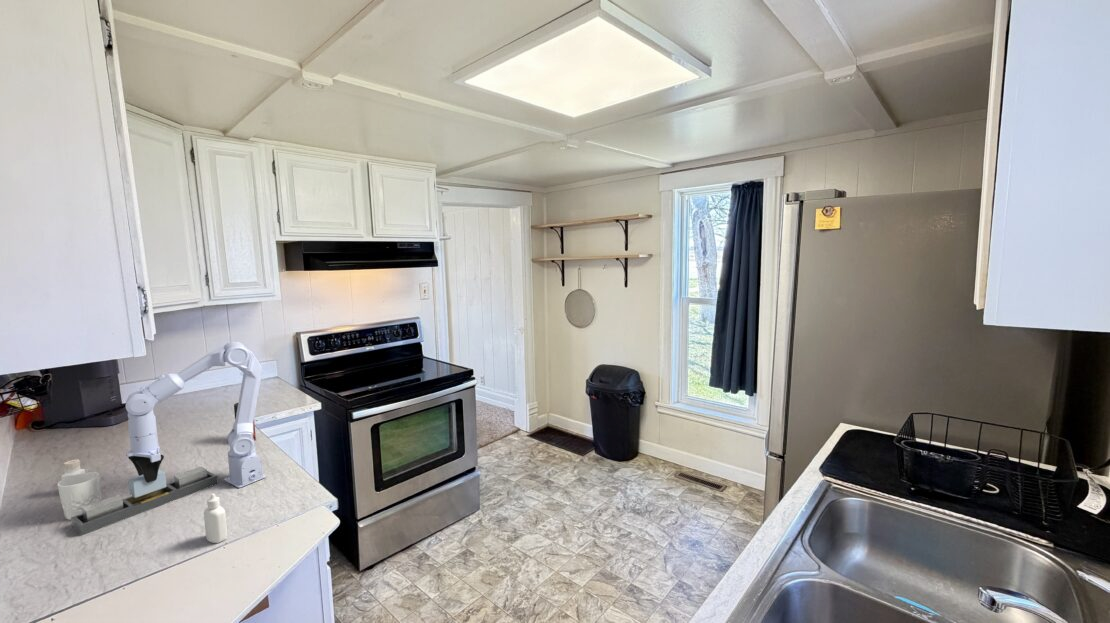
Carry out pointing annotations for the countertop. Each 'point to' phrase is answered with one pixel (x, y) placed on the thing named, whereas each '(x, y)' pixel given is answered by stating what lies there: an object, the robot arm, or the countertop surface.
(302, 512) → the countertop surface
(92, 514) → the tray
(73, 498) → the white cup
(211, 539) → the eye dropper bottle
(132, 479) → the light blue rectangular block
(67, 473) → the salt shaker
